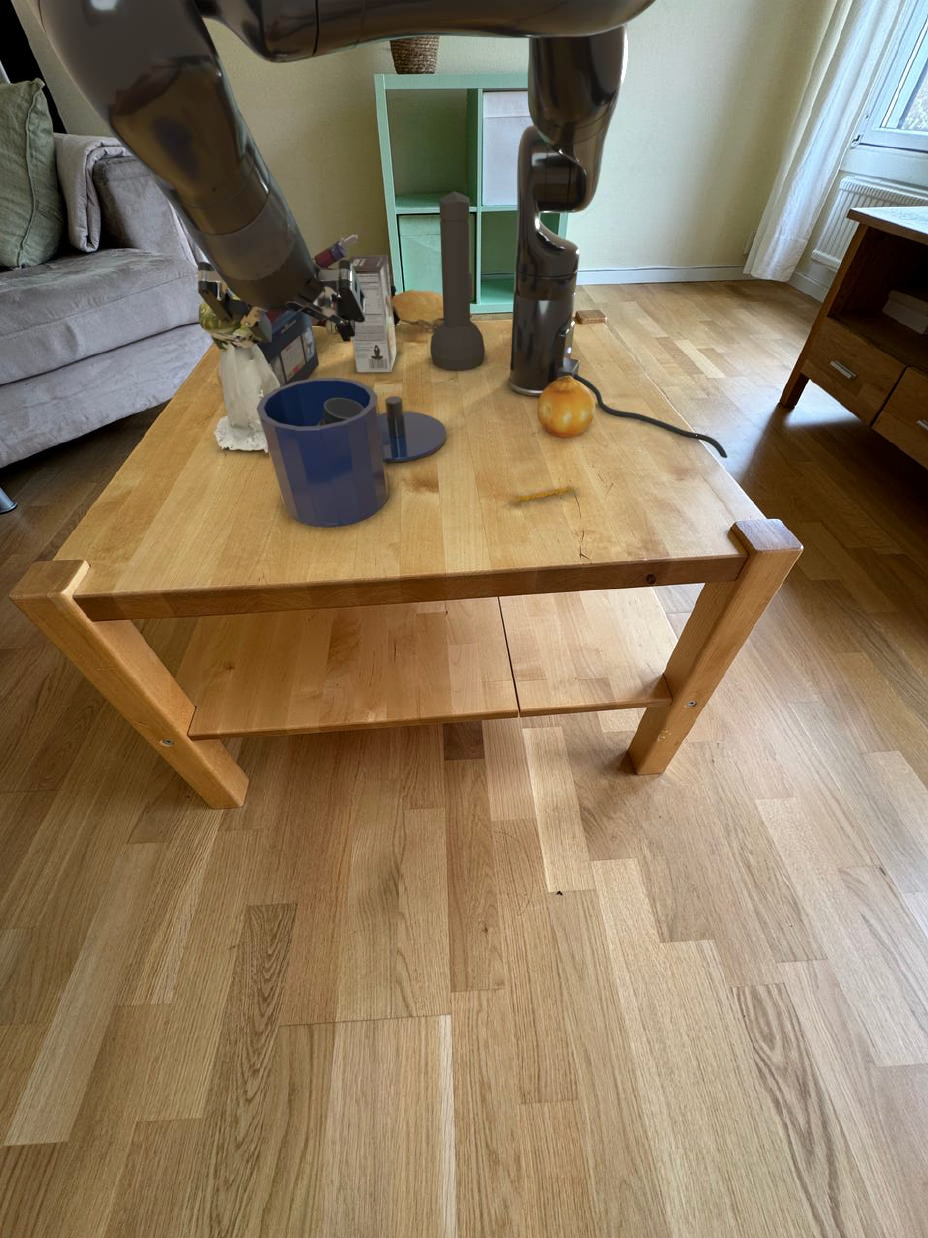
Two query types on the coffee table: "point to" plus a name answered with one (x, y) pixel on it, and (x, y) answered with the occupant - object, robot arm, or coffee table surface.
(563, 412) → the fruit
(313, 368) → the vhs cassette tape
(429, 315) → the orange wide rounded piece
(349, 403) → the pill bottle
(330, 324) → the toy
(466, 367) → the flashlight
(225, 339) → the frog
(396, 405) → the lid
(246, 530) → the coffee table surface
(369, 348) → the coffee box
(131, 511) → the coffee table surface
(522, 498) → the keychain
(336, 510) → the tin
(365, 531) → the coffee table surface
